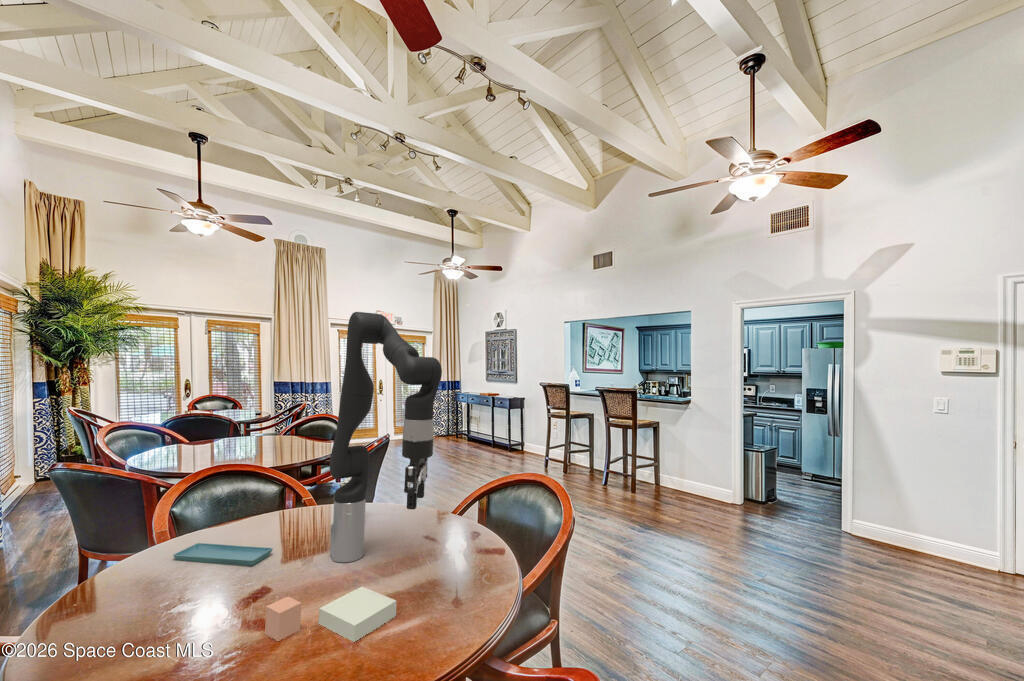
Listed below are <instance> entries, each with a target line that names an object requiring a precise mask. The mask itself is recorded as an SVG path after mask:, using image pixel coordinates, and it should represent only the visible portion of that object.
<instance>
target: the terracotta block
mask: <svg viewBox="0 0 1024 681" xmlns="http://www.w3.org/2000/svg"><path fill="white" fill-rule="evenodd" d="M301 616H302V602H301V601H298V600H296V599H295V598H292V597H290V596H286V597H283V598H281V599H279V600H277V601H275V602H272V603H270V604H268V605H266V606H265V621H264V622H265V623H264V624H265V626H264V628H265V629H264V635H265V634H266V635H268V636H270V637H271V638H270V637H269V638H270V639H272V638H273V639H275V640H276V642H277V641H280V640H281V639H283V638H285V637H287V636H289V635H291V634H293V633H295V632H296V633H298V632H300V631H301V621H302V620H301V618H302V617H301ZM299 630H300V631H299ZM297 631H298V632H297ZM296 633H295V634H296ZM266 635H265V636H266ZM293 635H294V634H293ZM268 636H267V637H268ZM291 636H292V635H291ZM289 637H290V636H289ZM287 638H288V637H287ZM273 639H272V640H273ZM285 639H286V638H285ZM275 640H274V641H275ZM280 642H281V641H280Z"/></svg>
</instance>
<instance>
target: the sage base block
mask: <svg viewBox="0 0 1024 681" xmlns="http://www.w3.org/2000/svg"><path fill="white" fill-rule="evenodd" d="M395 616H396V617H397V600H396V599H394V598H391V597H390V596H387V595H384V594H381V593H379V592H376V591H374V590H372V589H369V588H367V587H365V586H360V587H358V588H356V589H354V590H352V591H350V592H348V593H347V594H344V595H343V596H341V597H339V598H337V599H335V600H333V601H331V602H329V603H327V604H326V605H323V606H321V607H319V608H318V625H319V624H320V625H322V626H324V627H326V628H327V629H329V630H332V631H333V632H335V633H338V634H339V635H341V636H343V637H344V638H343V637H342V638H343V639H345V638H347V639H349V640H351V641H353V642H355V641H357V640H358V641H360V640H361V639H362V637H363V636H364V637H366V636H367V635H366V634H368V633H369V634H370V632H371V633H372V632H373V630H374V631H375V630H377V629H378V628H380V627H382V626H384V623H385V624H386V623H388V622H389V621H391V620H393V619H394V618H396V617H395ZM392 618H393V619H392ZM390 619H391V620H390ZM320 625H319V626H320ZM381 625H382V626H381ZM322 626H321V627H322ZM376 628H377V629H376ZM327 629H326V630H327ZM329 630H328V631H329ZM333 632H332V633H333ZM335 633H334V634H335ZM369 634H368V635H369ZM339 635H338V636H339ZM365 635H366V636H365ZM341 636H340V637H341ZM364 637H363V638H364ZM360 638H361V639H360ZM347 639H346V640H347ZM359 639H360V640H359ZM349 640H348V641H349ZM351 641H350V642H351ZM358 641H357V642H358ZM353 642H352V643H353ZM355 643H356V642H355Z"/></svg>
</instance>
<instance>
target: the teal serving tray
mask: <svg viewBox="0 0 1024 681" xmlns="http://www.w3.org/2000/svg"><path fill="white" fill-rule="evenodd" d="M273 550H274V547H262V546H261V547H260V546H244V545H231V544H220V543H219V544H217V543H202V542H199V543H195V544H193V545H191V546H188V547H186V548H185V549H182V550H180V551H178V552H176V553H174V554H173V555H172V556H173V558H174V559H175V560H176V561H183V562H184V561H185V562H196V563H206V564H207V563H208V564H220V565H230V566H242V567H244V566H245V567H253V566H254V565H257V564H258V563H259V562H261V561H263V560H265V559H266V558H267V557H269V556H270V555H271V552H273Z"/></svg>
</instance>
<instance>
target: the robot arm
mask: <svg viewBox="0 0 1024 681" xmlns="http://www.w3.org/2000/svg"><path fill="white" fill-rule="evenodd" d="M348 320H349V321H348V324H347V334H346V350H345V351H346V353H345V363H344V364H345V366H344V373H343V378H342V386H341V391H340V398H339V399H340V400H339V409H338V416H337V425H336V430H335V436H334V439H333V443H332V448H331V452H330V458H329V471H330V475H331V477H332V478H333V479H336V480H342V479H346V478H349V477H352V478H351V479H350V481H349V482H348V483H346V484H345V485H344V486H342V487H340V486H339V488H337V489H336V490H335V491H334V495H333V518H332V520H333V521H332V522H333V523H331V525H330V542H329V544H330V545H329V556H330V557H331V560H332V561H334V562H336V563H350V562H354V561H358V560H359V559H361V558H362V557H363V556H364V552H365V532H366V531H365V527H366V526H365V525H366V498H367V490H368V486H369V485H368V484H369V473H370V472H369V471H370V453H369V450H368V448H367V446H365V445H353V446H350V442H351V439H352V437H353V435H354V433H355V432H356V430H357V428H358V427H360V425H361V424H362V422H363V421H364V420H365V418H366V417H367V415H368V414H369V412H370V410H371V408H372V404H373V399H374V391H375V390H374V388H375V387H374V386H375V385H374V382H373V380H372V378H371V376H370V373H369V372H368V370H367V368H366V365H365V362H364V360H363V353H362V351H363V350H362V349H363V344H366V345H367V344H371V345H376V344H380V345H382V353H383V356H384V357H385V358H386V360H387V361H388V362H389V363H390V364H392V366H394V368H395V370H396V372H397V375H398V377H399V380H400V381H401V382H402V383H404V384H406V385H409V386H420V388H419V390H418V392H416V393H414V394H409V395H407V397H406V398H405V401H404V402H405V403H404V419H403V420H404V421H403V426H402V444H401V445H402V446H401V449H402V450H401V456H402V458H405V459H409V464H407V466H405V469H404V470H405V471H404V485H403V486H404V488H403V492H404V493H405V494H406V509H407V510H415V509H417V505H418V499H424V497H425V484H426V480H427V478H428V459H429V458H431V457H433V455H434V435H435V434H434V433H435V427H434V426H435V425H434V406H435V405H434V403H435V400H436V396H437V393H438V390H439V386H440V383H441V380H442V374H443V368H442V365H441V363H440V360H438V359H437V358H436V357H433V356H431V357H430V356H420V354H419V352H418V350H417V349H416V348H415V347H414V346H413V345H412V344H410V343H408V342H407V341H406V340H405V339H404V338H402V336H401V335H400V334H399V332H398V331H397V330H396V328H395V327H394V326H393V324H392V323H391V322H390V320H389V319H388V318H387V317H386V316H385V315H384V314H381V313H376V312H375V313H374V312H373V313H372V312H365V311H364V312H363V311H354V312H352V314H351V315H350V316H349V319H348ZM411 485H412V487H411Z"/></svg>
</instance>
